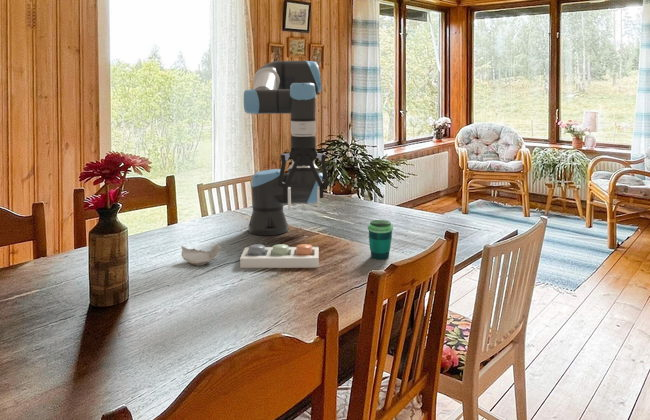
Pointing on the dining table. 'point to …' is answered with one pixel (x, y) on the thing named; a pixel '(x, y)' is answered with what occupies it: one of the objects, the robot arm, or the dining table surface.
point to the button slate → (257, 250)
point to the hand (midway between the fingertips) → (303, 208)
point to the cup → (380, 238)
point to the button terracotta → (304, 250)
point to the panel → (280, 259)
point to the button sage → (280, 250)
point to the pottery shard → (199, 255)
